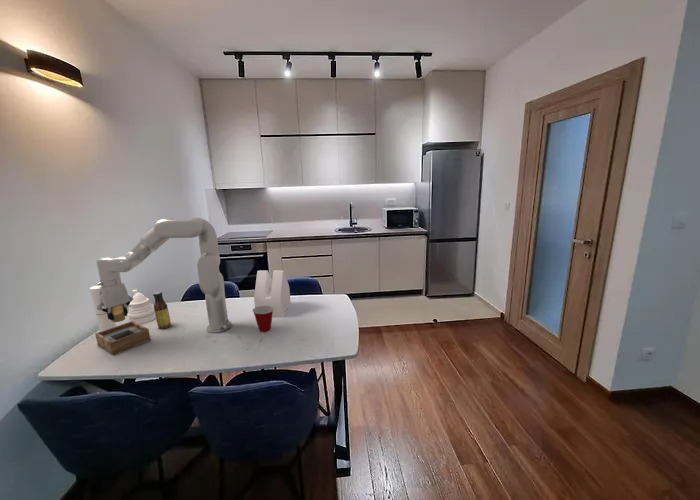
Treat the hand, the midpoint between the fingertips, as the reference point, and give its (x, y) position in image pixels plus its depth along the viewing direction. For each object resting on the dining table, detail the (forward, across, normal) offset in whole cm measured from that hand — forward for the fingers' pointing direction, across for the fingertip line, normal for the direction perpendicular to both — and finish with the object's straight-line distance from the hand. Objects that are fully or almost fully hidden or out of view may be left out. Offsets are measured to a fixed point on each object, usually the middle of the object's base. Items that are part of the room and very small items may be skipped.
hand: (118, 317), depth 146 cm
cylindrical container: (+14, +1, +23) cm, 27 cm away
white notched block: (+13, +65, -37) cm, 76 cm away
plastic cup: (+13, +45, -52) cm, 70 cm away
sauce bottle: (+14, +19, 0) cm, 24 cm away
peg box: (+14, 0, 0) cm, 14 cm away
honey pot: (+14, +17, +21) cm, 30 cm away
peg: (+1, 0, 0) cm, 1 cm away
